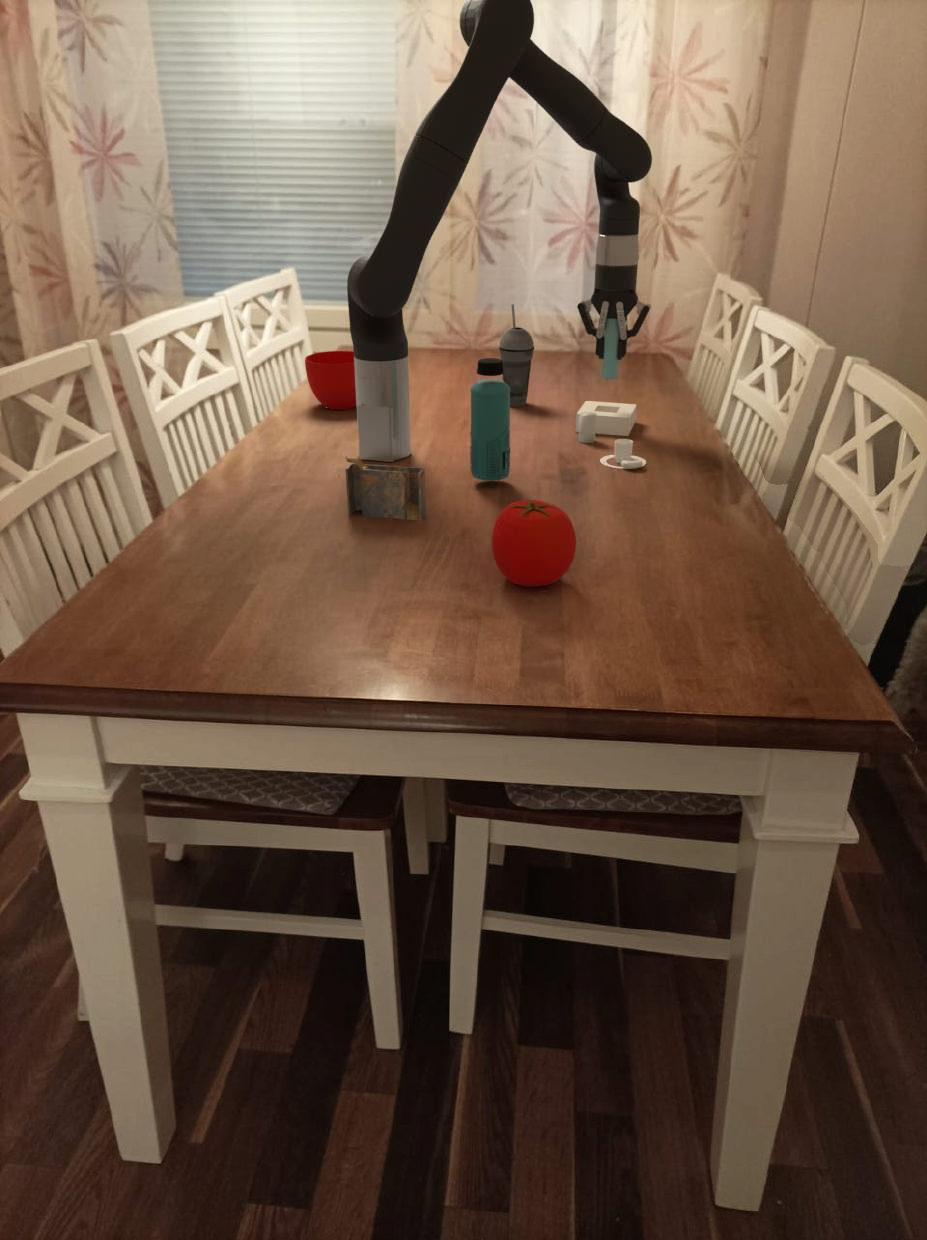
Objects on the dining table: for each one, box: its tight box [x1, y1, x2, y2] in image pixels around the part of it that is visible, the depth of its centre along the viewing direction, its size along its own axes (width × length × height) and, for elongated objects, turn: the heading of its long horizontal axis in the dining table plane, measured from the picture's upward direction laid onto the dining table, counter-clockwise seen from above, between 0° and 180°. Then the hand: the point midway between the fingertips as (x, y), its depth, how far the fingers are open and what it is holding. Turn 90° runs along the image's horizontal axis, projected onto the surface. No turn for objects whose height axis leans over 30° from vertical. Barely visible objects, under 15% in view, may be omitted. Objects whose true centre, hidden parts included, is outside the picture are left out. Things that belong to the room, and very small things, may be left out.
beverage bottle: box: [469, 357, 512, 482], centre depth 152 cm, size 6×7×20 cm
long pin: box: [601, 318, 620, 380], centre depth 179 cm, size 3×3×11 cm
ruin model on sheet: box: [344, 456, 427, 521], centre depth 142 cm, size 11×3×10 cm, turn 78°
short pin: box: [578, 412, 596, 444], centre depth 177 cm, size 3×3×5 cm
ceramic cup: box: [304, 350, 357, 411], centre depth 198 cm, size 13×17×10 cm
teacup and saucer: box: [599, 438, 647, 470], centre depth 166 cm, size 9×8×4 cm
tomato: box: [491, 499, 577, 588], centre depth 121 cm, size 10×11×11 cm
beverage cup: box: [498, 304, 535, 408], centre depth 197 cm, size 7×7×20 cm
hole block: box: [575, 400, 637, 437], centre depth 185 cm, size 10×10×4 cm
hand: (610, 358), depth 180 cm, fingers closed on long pin, 3 cm apart
